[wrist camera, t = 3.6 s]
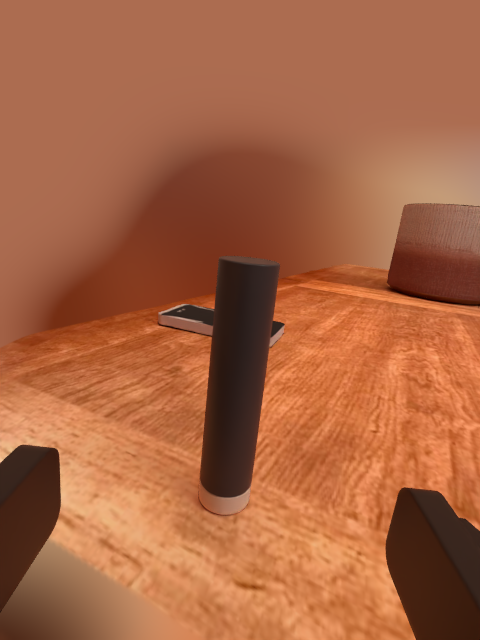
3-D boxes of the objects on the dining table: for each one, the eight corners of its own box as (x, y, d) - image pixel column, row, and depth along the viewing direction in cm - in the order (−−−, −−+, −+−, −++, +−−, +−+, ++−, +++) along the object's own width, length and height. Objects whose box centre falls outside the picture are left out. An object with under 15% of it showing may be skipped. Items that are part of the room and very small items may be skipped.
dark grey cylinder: (217, 524, 17) (245, 264, 14) (188, 489, 19) (207, 255, 15) (259, 502, 18) (293, 264, 15) (229, 472, 20) (253, 256, 17)
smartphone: (270, 338, 41) (155, 313, 45) (269, 349, 41) (155, 324, 46) (285, 323, 48) (184, 303, 52) (284, 333, 48) (184, 312, 52)
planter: (380, 282, 111) (396, 207, 105) (471, 294, 106) (493, 216, 100) (392, 296, 87) (413, 200, 81) (511, 312, 82) (542, 211, 76)
